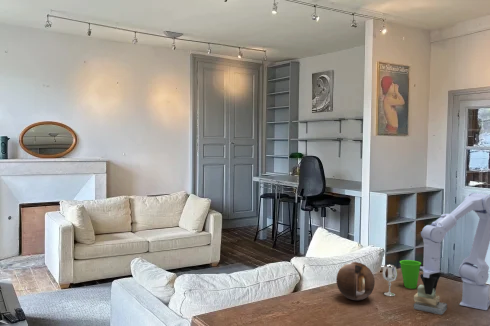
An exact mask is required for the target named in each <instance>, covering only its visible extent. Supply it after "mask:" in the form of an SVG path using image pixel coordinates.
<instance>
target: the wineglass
mask: <svg viewBox="0 0 490 326" xmlns="http://www.w3.org/2000/svg"><path fill="white" fill-rule="evenodd" d="M397 277H398V270H397V266H396V265H394V264H385V265H384V266H383V268H382V278H383V279H384V280H386V281H387V282H388V292H384V293H383V295H385V296H387V297H395V296H396V294H395V293H393V292H391V286H392V283H391V282H394V281H396V280H397Z"/></svg>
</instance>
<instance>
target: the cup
mask: <svg viewBox="0 0 490 326" xmlns="http://www.w3.org/2000/svg"><path fill="white" fill-rule="evenodd" d="M399 263H400V271H401V274H402V282H403V285H404V288H406V289H412V290H414V289H417V288H418V282H419V275H420V270H421V269H420V267H421V265H422V262H421V261H417V260H413V259H403V260H400V261H399Z"/></svg>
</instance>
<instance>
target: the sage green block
mask: <svg viewBox="0 0 490 326" xmlns="http://www.w3.org/2000/svg"><path fill="white" fill-rule="evenodd" d="M436 290H437V289H436ZM436 290H435V292H434V288H433V292H432V295H429V294H425V289H424V284H419V285H417V293H415V294H414V295H413V302H421V303H426V304H431V305H436V304H437V303H438V302H440V295H437V293H436Z"/></svg>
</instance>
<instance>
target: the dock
mask: <svg viewBox="0 0 490 326" xmlns="http://www.w3.org/2000/svg"><path fill="white" fill-rule="evenodd" d="M447 309H448V304H447V303H446V302H440V301H439V302H438V303H437V304H436V305H431V304H426V303H421V302H416V301H414V302H413V310H417V311H422V312H426V313H427V312H428V313H431V314H436V315H440V316H443V314H444V313H445V312H446V311H447Z"/></svg>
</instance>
